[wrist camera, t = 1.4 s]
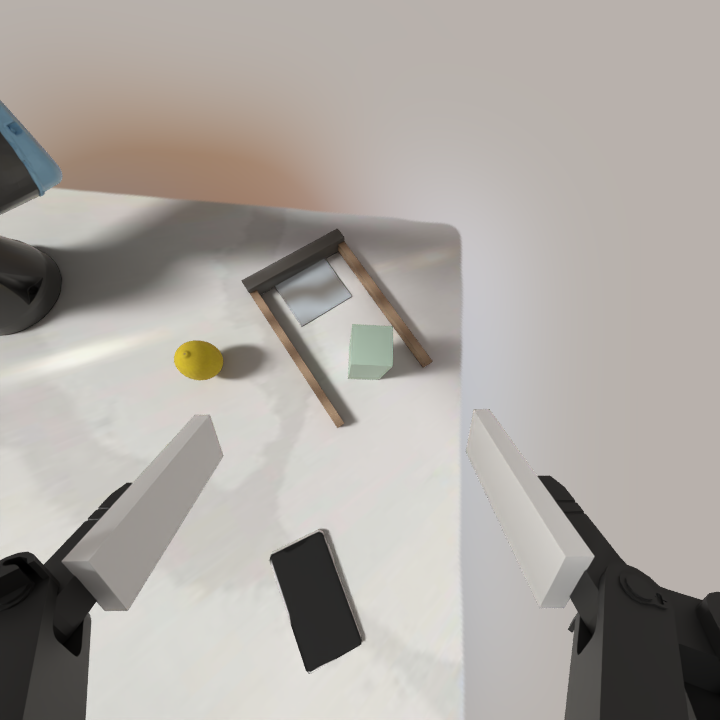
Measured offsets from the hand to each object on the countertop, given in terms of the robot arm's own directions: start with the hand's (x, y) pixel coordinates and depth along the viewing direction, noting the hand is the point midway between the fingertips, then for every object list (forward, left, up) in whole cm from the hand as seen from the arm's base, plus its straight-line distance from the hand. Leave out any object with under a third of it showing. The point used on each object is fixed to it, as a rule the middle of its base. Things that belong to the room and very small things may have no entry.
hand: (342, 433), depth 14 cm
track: (-13, +8, -29) cm, 33 cm away
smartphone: (+17, -16, -30) cm, 38 cm away
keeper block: (-6, +8, -29) cm, 31 cm away
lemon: (-19, -12, -29) cm, 37 cm away
